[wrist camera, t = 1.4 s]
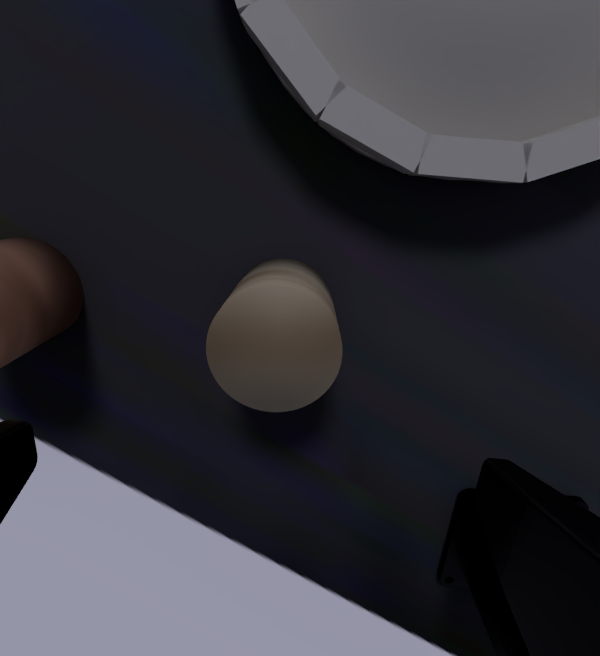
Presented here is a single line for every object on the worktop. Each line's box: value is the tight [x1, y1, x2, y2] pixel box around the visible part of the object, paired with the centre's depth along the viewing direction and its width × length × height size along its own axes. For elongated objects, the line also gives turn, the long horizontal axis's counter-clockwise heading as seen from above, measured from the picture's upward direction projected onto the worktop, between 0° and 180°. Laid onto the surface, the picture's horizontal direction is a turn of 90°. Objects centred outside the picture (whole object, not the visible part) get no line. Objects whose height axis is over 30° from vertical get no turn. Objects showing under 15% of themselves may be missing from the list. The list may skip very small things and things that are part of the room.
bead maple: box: [206, 259, 342, 412], centre depth 15 cm, size 4×4×5 cm
